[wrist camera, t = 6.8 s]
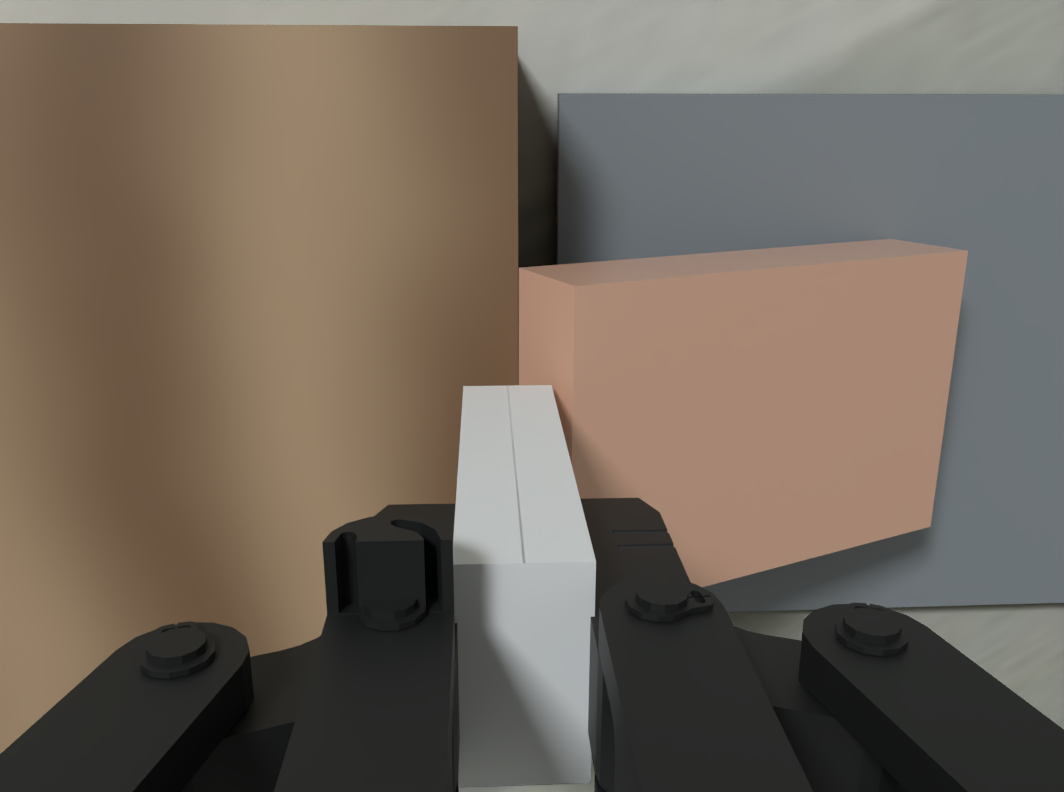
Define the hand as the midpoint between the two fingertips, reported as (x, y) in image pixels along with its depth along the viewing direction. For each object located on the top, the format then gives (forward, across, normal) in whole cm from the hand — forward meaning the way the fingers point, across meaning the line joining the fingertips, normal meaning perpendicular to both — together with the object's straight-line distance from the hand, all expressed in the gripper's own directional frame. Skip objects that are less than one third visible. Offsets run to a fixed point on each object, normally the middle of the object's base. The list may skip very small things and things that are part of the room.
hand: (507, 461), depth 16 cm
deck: (+5, -7, 0) cm, 9 cm away
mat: (+6, +8, 0) cm, 10 cm away
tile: (+3, +4, 0) cm, 5 cm away
